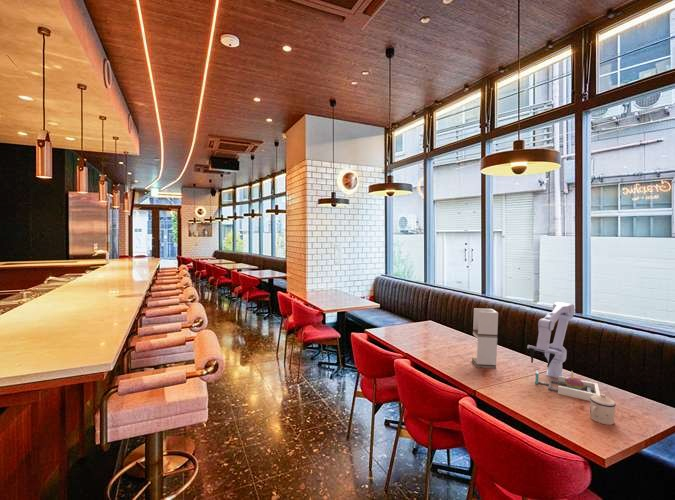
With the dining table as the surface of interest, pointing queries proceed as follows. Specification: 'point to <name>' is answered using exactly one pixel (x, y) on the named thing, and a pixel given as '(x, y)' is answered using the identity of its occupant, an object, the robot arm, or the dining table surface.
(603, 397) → the teacup with lid
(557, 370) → the robot arm
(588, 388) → the frame with teal handle
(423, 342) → the dining table surface
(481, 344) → the light grey tall block
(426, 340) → the dining table surface
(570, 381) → the cupcake
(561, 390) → the white rectangular tray
